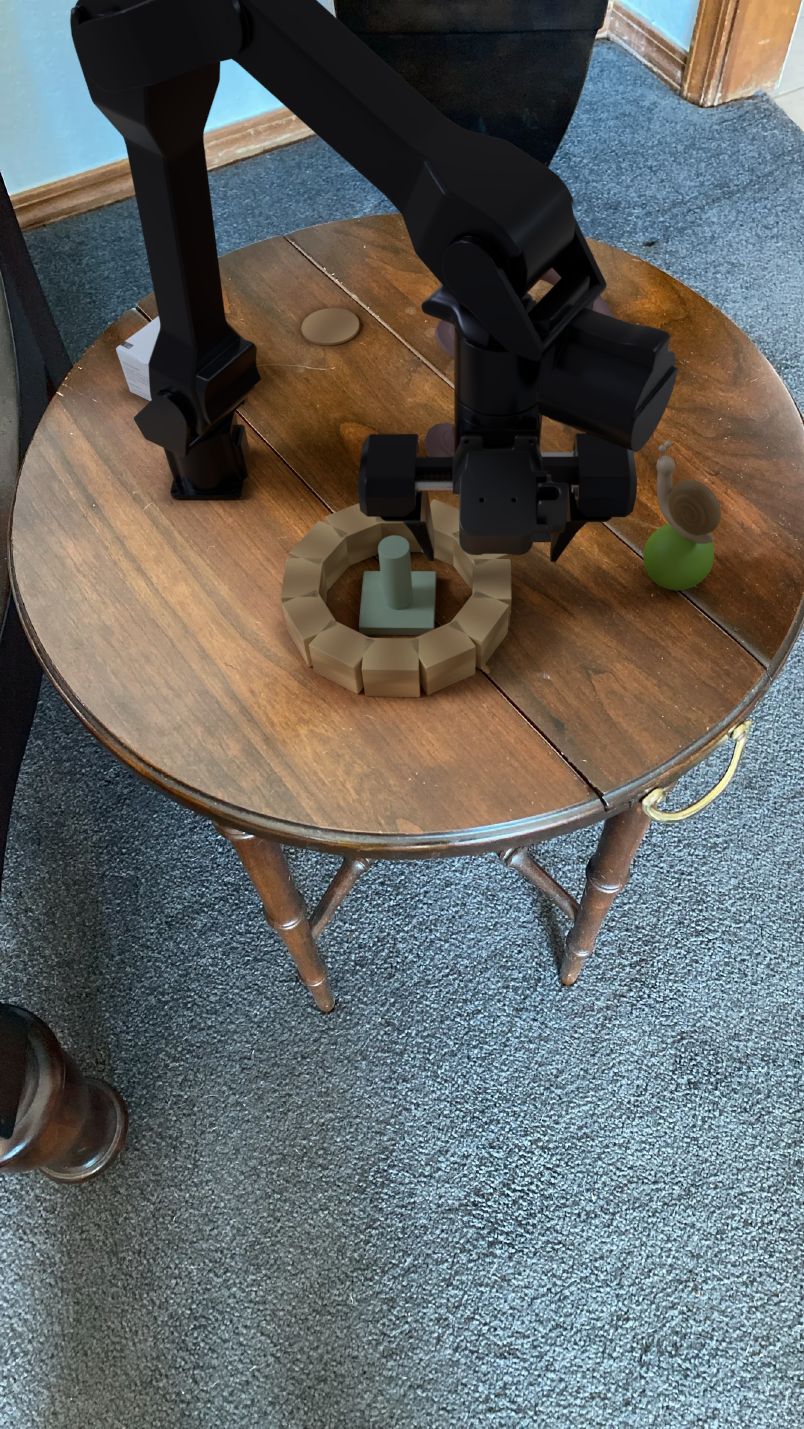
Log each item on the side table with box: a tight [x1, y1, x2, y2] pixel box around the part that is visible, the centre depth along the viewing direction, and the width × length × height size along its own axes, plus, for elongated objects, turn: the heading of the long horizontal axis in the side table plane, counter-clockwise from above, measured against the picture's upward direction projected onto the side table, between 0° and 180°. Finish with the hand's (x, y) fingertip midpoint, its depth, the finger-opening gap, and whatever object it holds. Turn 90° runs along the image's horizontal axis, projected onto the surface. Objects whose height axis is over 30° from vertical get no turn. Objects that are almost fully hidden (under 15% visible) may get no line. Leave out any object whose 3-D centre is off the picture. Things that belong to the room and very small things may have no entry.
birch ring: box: [280, 498, 512, 698], centre depth 78 cm, size 18×18×4 cm
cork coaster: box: [301, 307, 360, 347], centre depth 101 cm, size 6×6×1 cm
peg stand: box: [358, 536, 437, 636], centre depth 76 cm, size 6×6×7 cm
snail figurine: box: [642, 440, 722, 591], centre depth 75 cm, size 5×6×12 cm
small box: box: [115, 315, 160, 402], centre depth 94 cm, size 8×8×5 cm
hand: (492, 557), depth 74 cm, fingers open, 9 cm apart
